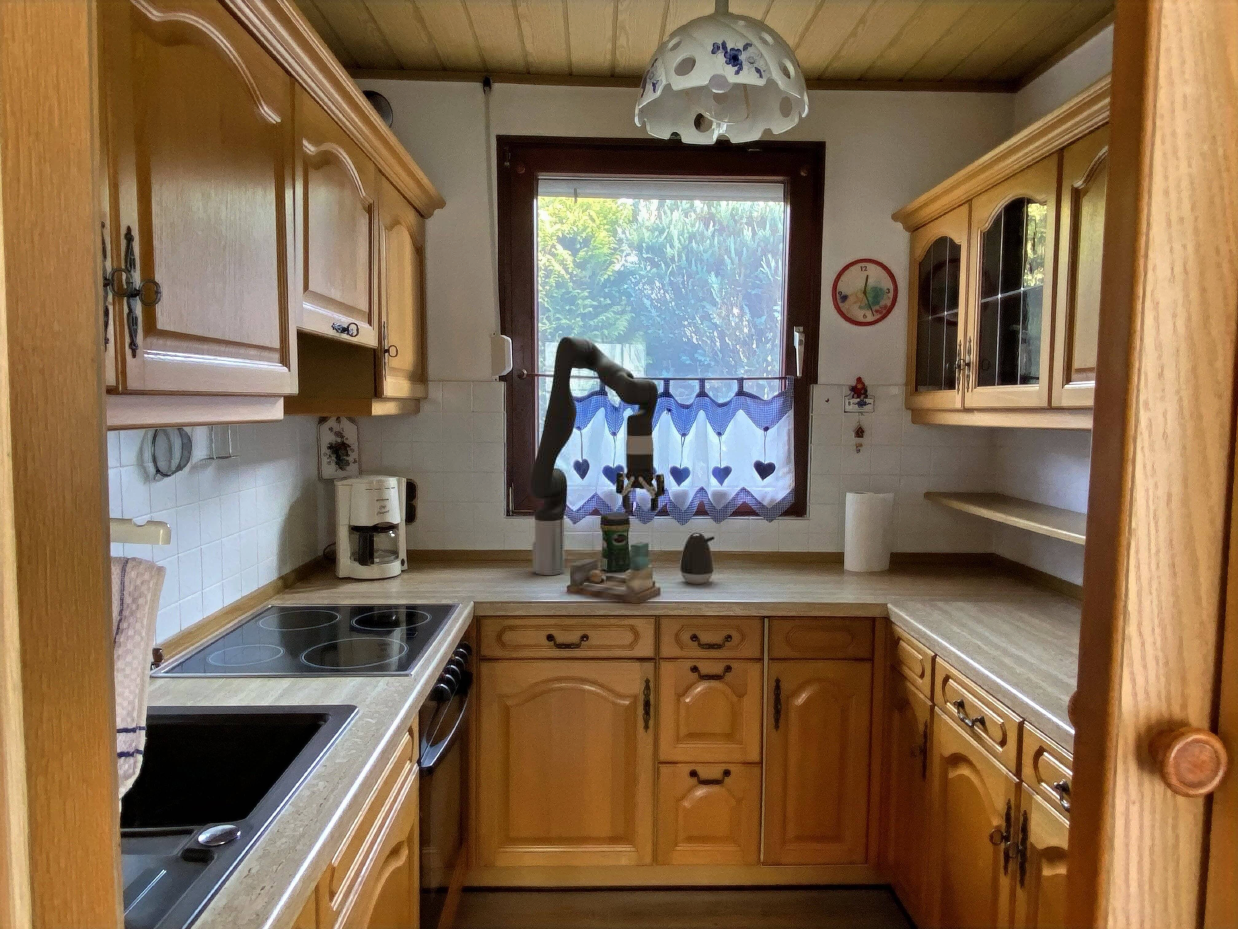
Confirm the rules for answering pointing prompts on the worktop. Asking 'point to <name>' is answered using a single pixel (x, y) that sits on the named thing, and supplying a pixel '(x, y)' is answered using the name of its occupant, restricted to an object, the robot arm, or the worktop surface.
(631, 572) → the sliding jaw
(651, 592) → the base
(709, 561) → the pump dispenser
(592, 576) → the walnut
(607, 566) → the coffee jar
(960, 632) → the worktop surface
